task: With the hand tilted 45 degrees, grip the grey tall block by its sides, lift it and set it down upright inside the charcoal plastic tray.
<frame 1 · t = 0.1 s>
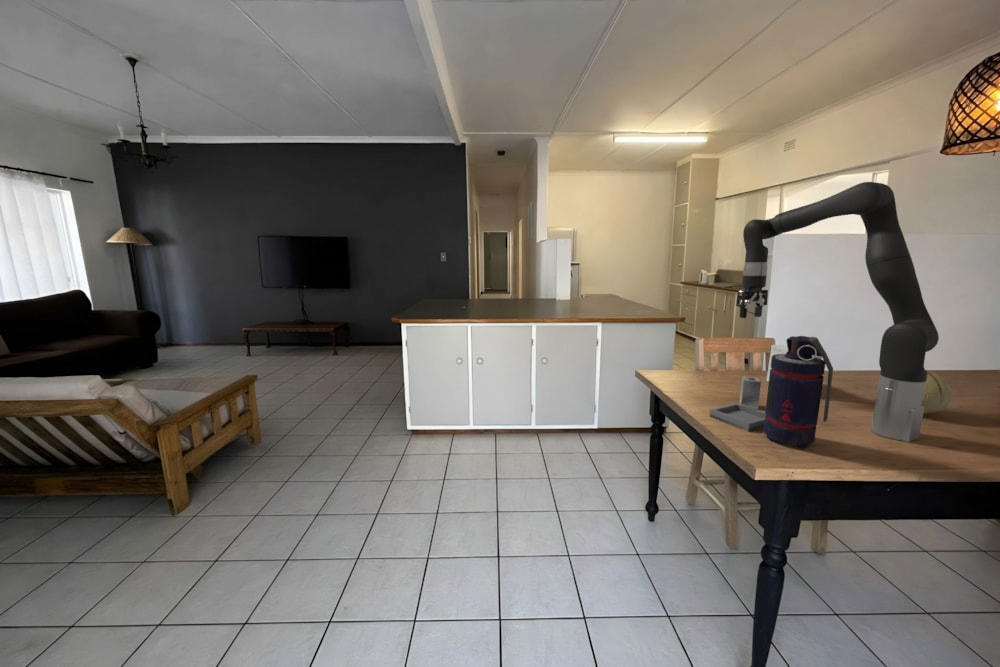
hand: (750, 317, 149), 29 cm above the table, tool pointing down, fingers open, 8 cm apart
grey tall block: (748, 406, 138), on the table
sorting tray: (741, 420, 126), on the table
grenade: (791, 441, 111), on the table
skincare box: (789, 389, 156), on the table
honeydew melon: (914, 412, 130), on the table
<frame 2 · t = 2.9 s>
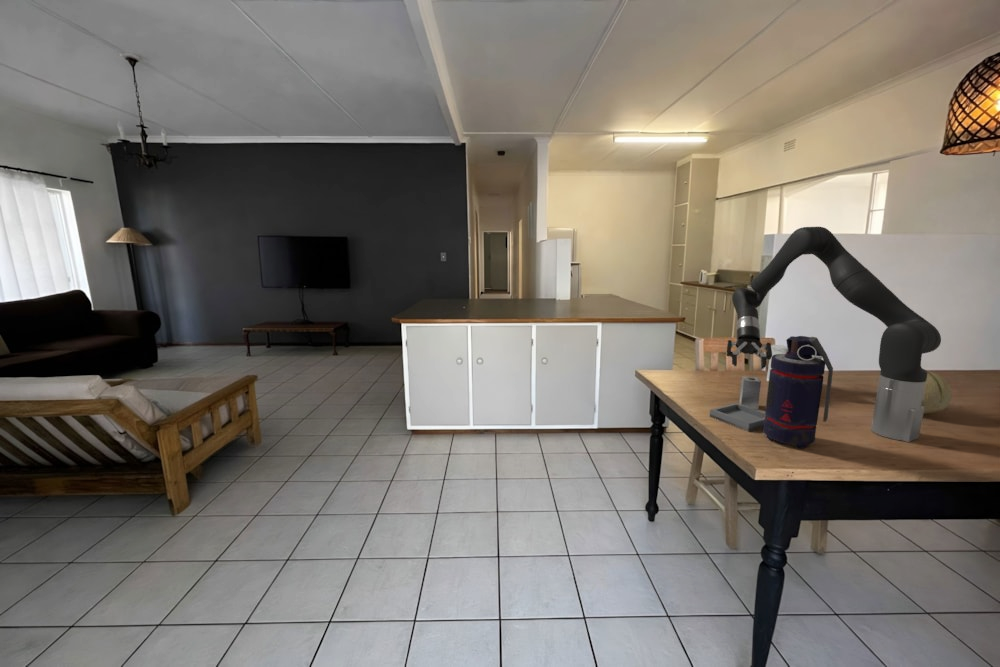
hand: (749, 366, 143), 12 cm above the table, tool tilted 45°, fingers open, 8 cm apart
nothing on the table moved.
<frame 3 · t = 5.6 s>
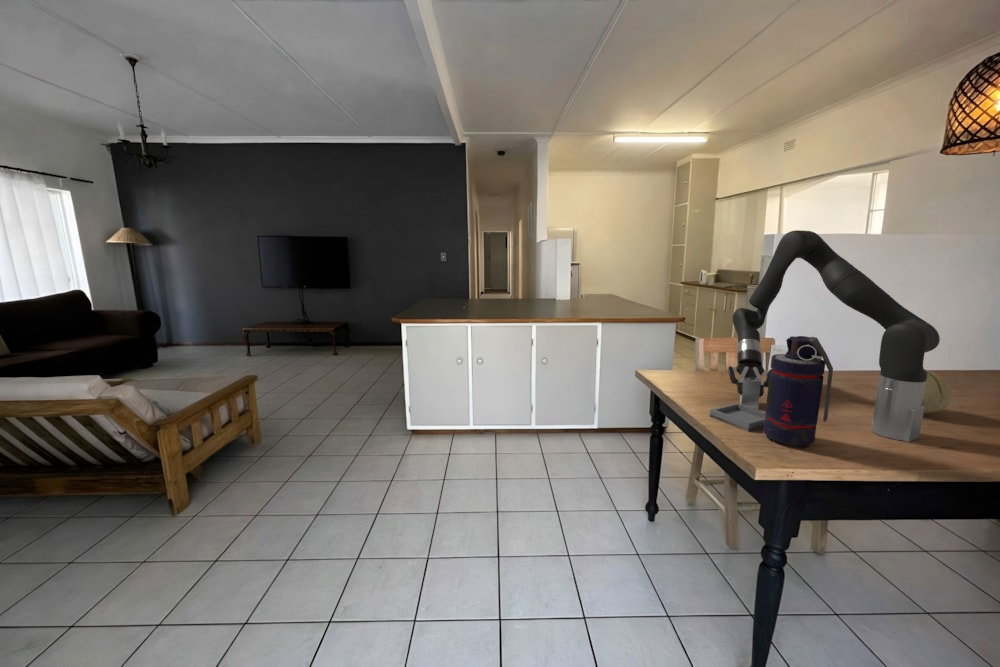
hand: (750, 394, 135), 5 cm above the table, tool tilted 45°, fingers closed on grey tall block, 5 cm apart
grey tall block: (748, 406, 138), on the table, touching gripper
everything else where it was.
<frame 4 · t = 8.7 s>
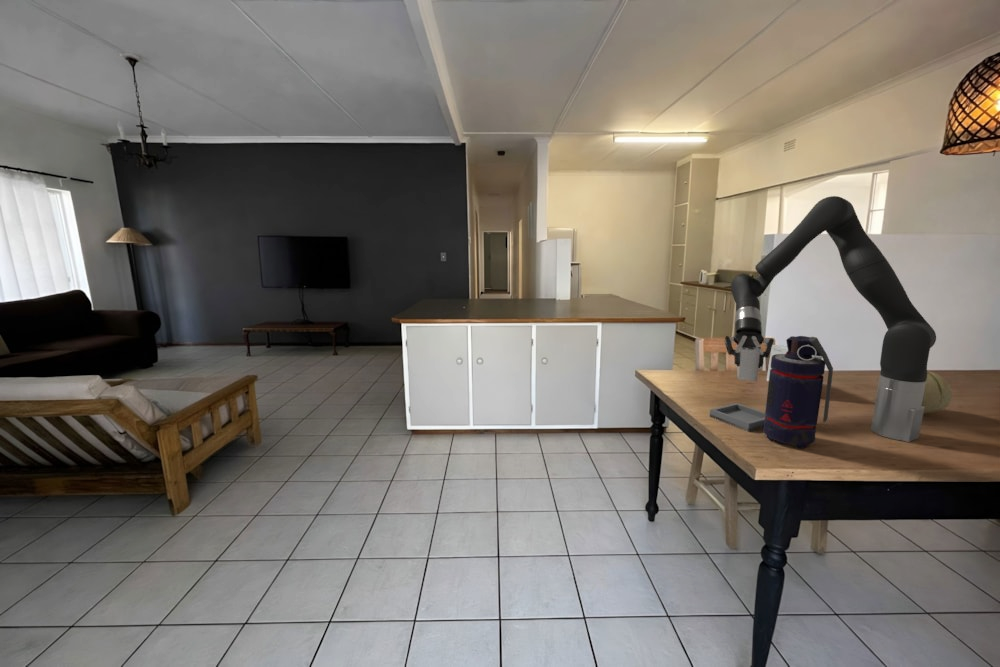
hand: (748, 365, 123), 18 cm above the table, tool tilted 45°, fingers closed on grey tall block, 5 cm apart
grey tall block: (746, 378, 126), point 13 cm above the table, touching gripper
everything else where it was.
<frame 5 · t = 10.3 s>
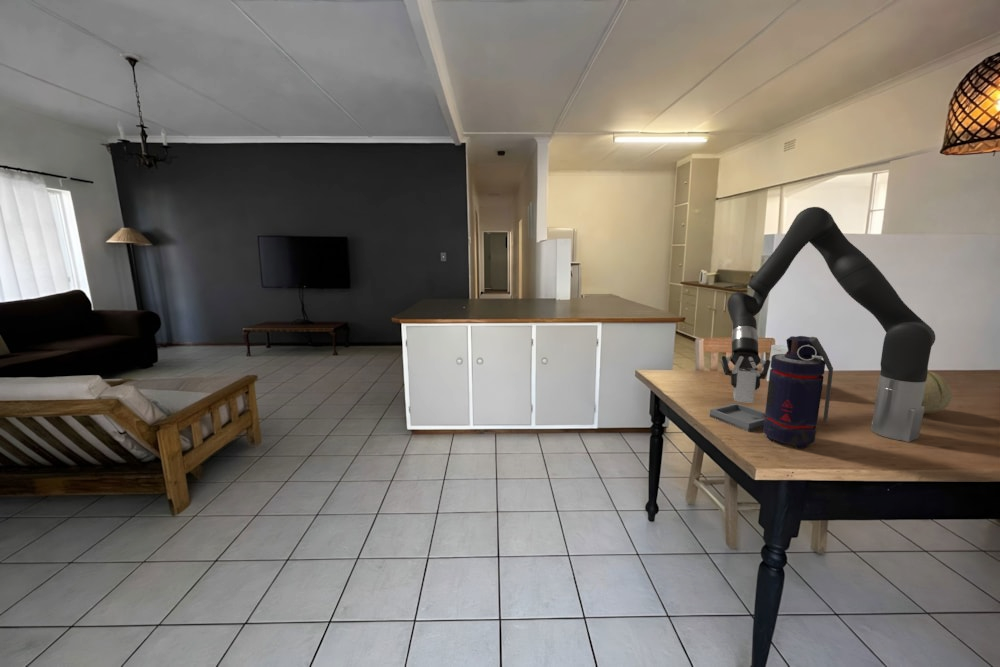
hand: (745, 387, 122), 12 cm above the table, tool tilted 45°, fingers closed on grey tall block, 5 cm apart
grey tall block: (742, 399, 125), point 7 cm above the table, touching gripper
everything else where it was.
when the fingers open (7 cm above the table, at t = 11.6 s): grey tall block drops 1 cm, resting on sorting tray.
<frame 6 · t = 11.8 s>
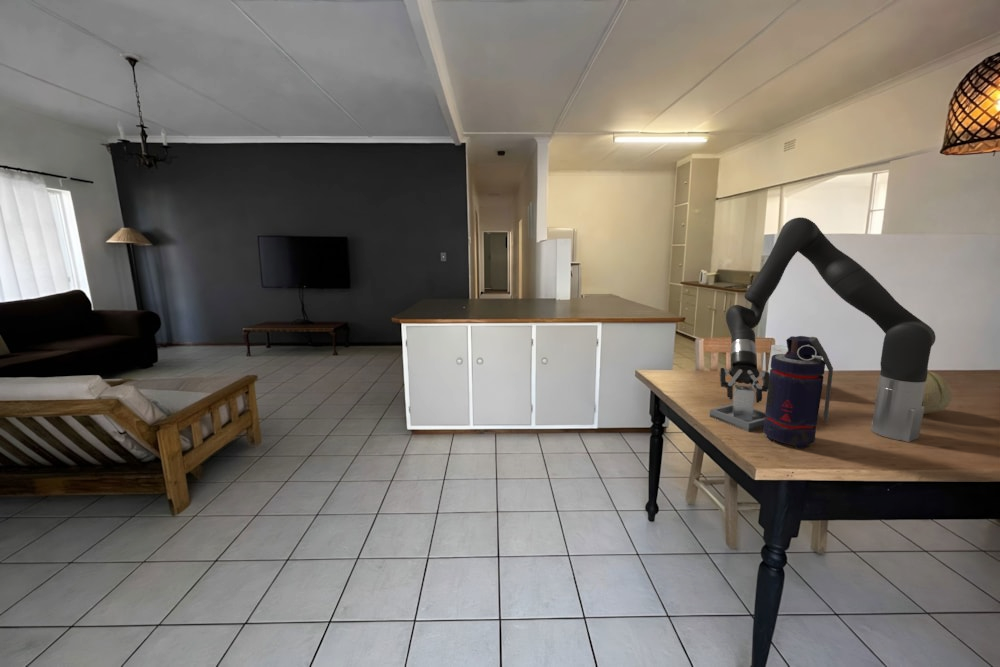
hand: (744, 399, 123), 7 cm above the table, tool tilted 45°, fingers open, 6 cm apart
grey tall block: (741, 417, 126), point 1 cm above the table, touching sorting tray
everything else where it was.
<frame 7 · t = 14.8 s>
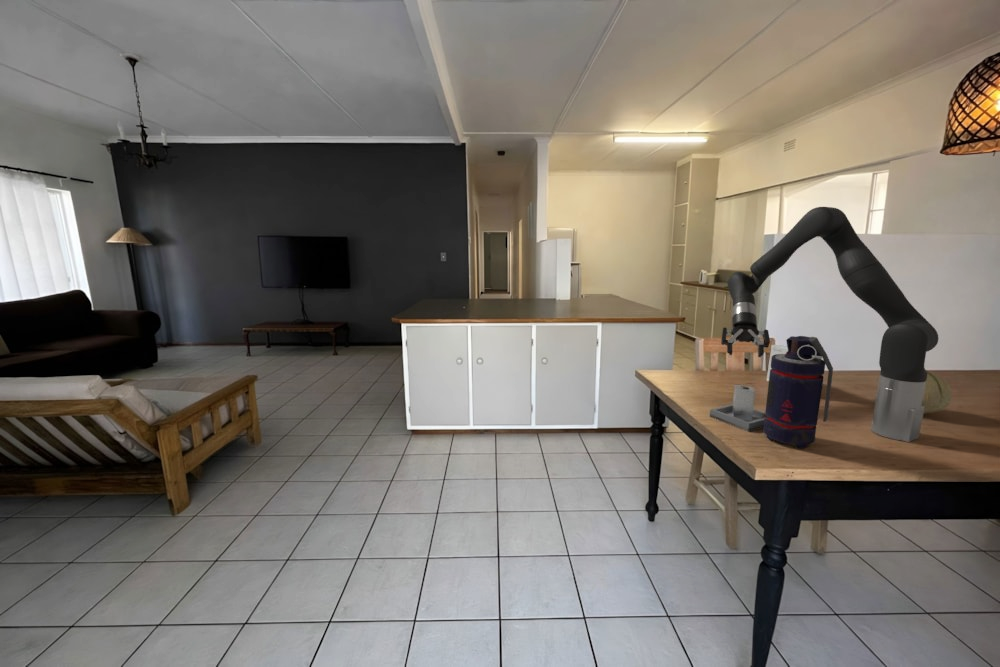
hand: (745, 355, 133), 19 cm above the table, tool tilted 45°, fingers open, 8 cm apart
nothing on the table moved.
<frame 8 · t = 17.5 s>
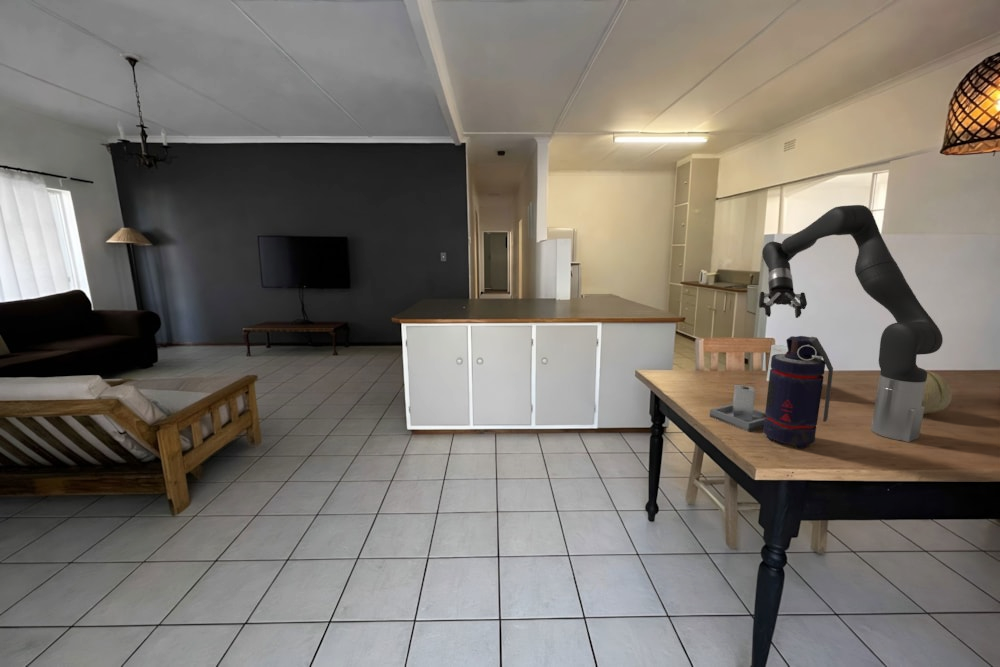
hand: (783, 315, 141), 31 cm above the table, tool tilted 45°, fingers open, 8 cm apart
nothing on the table moved.
at the end: grey tall block inside the target area on the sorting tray (0.1 cm from its centre), point 0.8 cm above the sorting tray's base; grey tall block tilted 0°; the gripper is holding nothing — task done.
